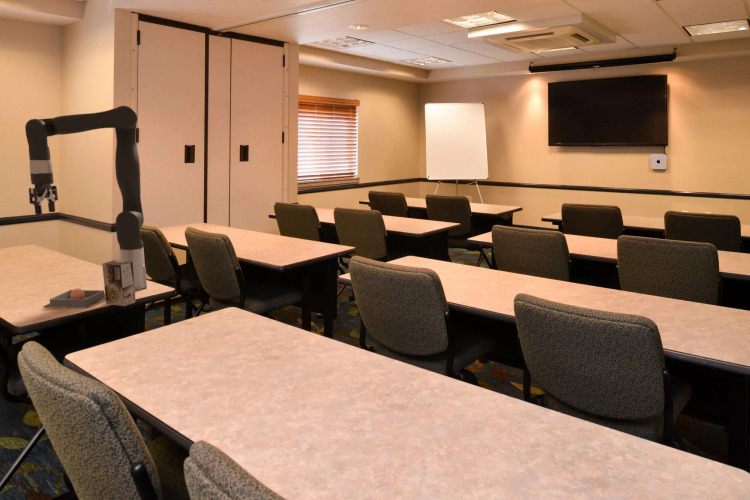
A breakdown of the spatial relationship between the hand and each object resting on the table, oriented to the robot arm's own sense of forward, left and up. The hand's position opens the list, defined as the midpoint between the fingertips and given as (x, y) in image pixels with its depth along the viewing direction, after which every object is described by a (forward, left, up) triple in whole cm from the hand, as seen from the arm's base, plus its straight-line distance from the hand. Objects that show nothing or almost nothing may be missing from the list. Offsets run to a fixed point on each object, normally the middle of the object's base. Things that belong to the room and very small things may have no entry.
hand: (45, 213), depth 218 cm
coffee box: (-23, +25, -33) cm, 47 cm away
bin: (-9, +16, -33) cm, 38 cm away
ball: (-9, +16, -30) cm, 35 cm away
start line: (-1, +12, -33) cm, 35 cm away
